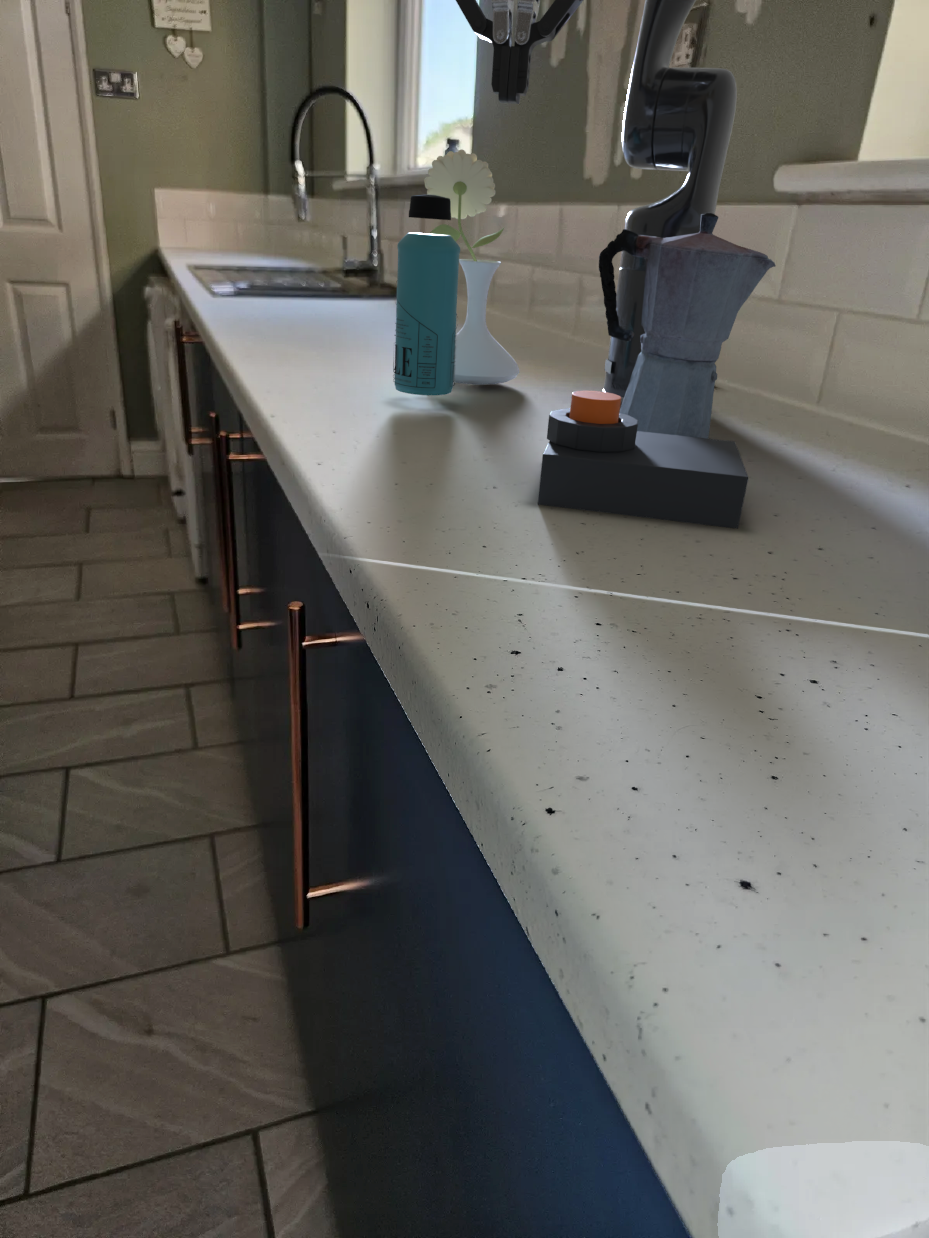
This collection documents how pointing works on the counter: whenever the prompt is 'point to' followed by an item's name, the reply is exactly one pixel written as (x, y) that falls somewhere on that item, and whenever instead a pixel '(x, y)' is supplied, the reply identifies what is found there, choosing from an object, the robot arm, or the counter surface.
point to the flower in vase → (472, 267)
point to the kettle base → (641, 472)
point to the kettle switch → (595, 407)
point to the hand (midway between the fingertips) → (508, 102)
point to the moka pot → (681, 322)
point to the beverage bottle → (426, 304)
